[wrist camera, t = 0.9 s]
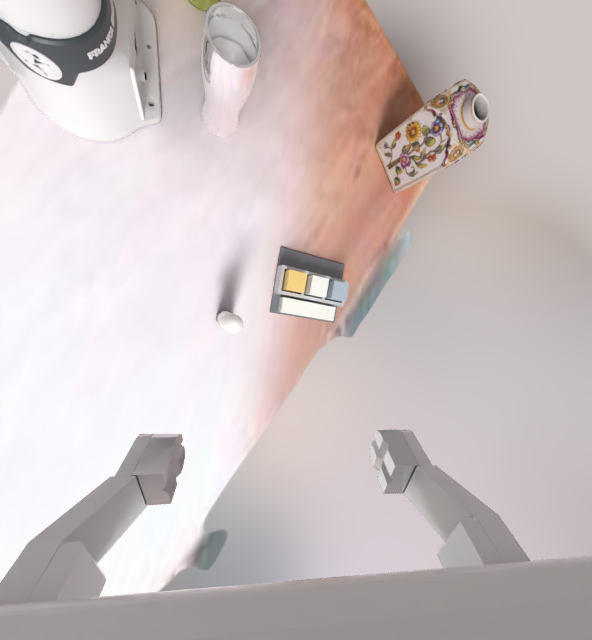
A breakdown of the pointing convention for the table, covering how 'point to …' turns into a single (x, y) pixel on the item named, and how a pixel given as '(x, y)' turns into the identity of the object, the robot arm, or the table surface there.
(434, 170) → the decorative jar
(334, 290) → the key slate
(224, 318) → the white rounded cylinder
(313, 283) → the key white
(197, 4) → the plant pot
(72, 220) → the table surface
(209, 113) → the beer glass
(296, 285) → the key amber
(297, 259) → the keypad
